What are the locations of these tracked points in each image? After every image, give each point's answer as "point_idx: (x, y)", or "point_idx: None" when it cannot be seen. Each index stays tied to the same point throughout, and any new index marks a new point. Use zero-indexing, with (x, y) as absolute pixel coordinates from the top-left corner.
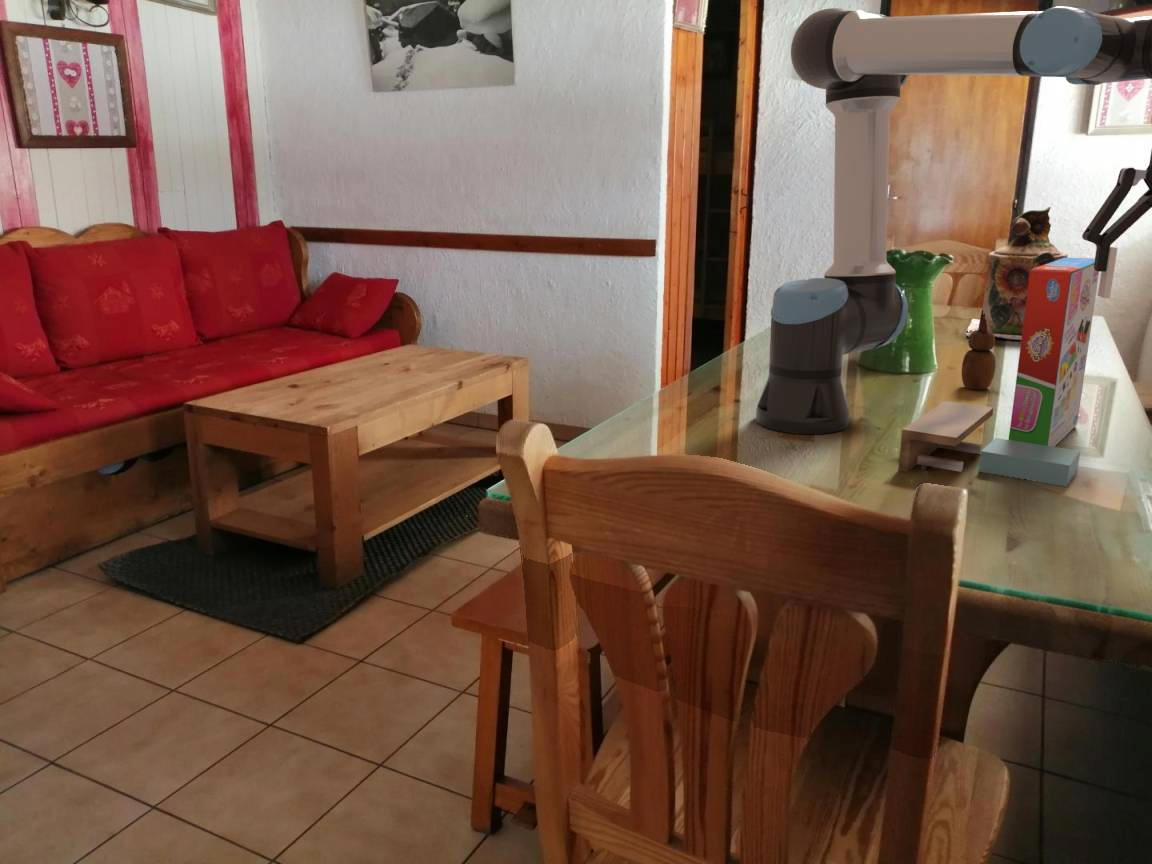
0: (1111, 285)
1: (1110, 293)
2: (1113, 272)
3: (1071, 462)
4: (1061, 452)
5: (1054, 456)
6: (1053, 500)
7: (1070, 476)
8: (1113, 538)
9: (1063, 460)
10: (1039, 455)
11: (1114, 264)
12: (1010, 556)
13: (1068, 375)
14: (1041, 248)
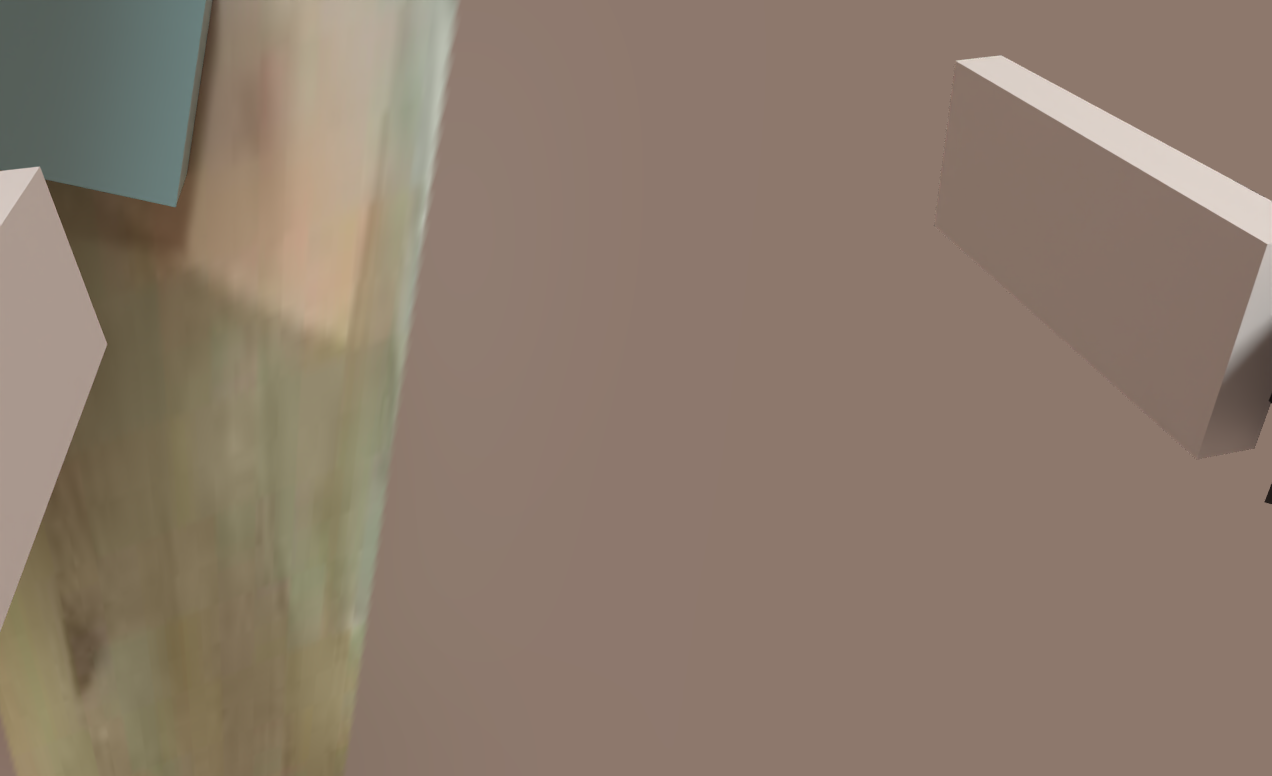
0: (80, 407)
1: (98, 364)
2: (51, 489)
3: (180, 167)
4: (131, 26)
5: (108, 101)
6: (153, 326)
7: (192, 122)
8: (315, 538)
9: (148, 148)
10: (45, 107)
11: (27, 540)
12: (91, 712)
13: None
14: None
